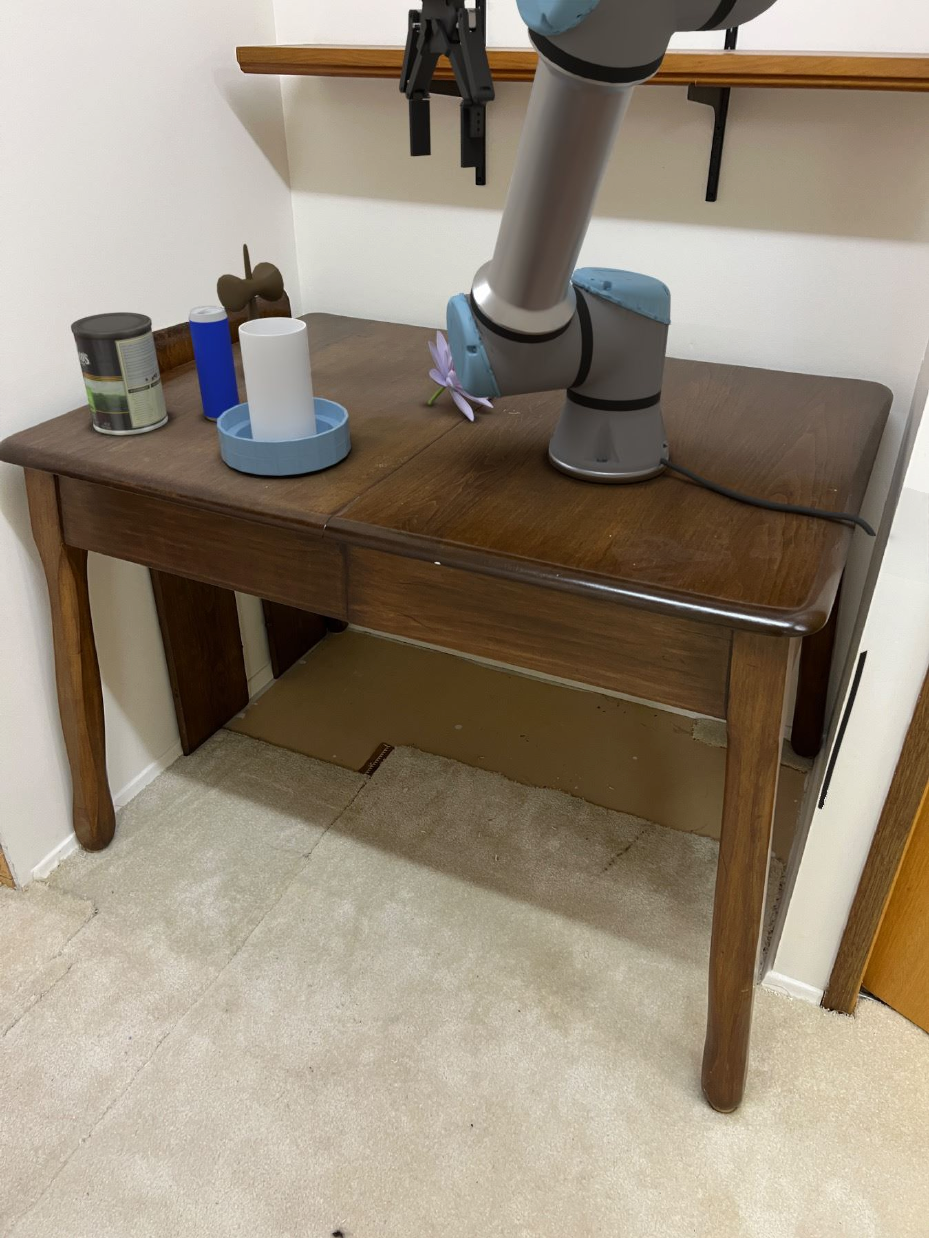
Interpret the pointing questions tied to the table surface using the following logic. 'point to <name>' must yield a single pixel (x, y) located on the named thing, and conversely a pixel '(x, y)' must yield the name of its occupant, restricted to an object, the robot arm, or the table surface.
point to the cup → (278, 378)
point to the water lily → (450, 377)
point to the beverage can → (214, 360)
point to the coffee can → (120, 372)
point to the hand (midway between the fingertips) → (445, 161)
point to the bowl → (285, 442)
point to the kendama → (250, 287)
